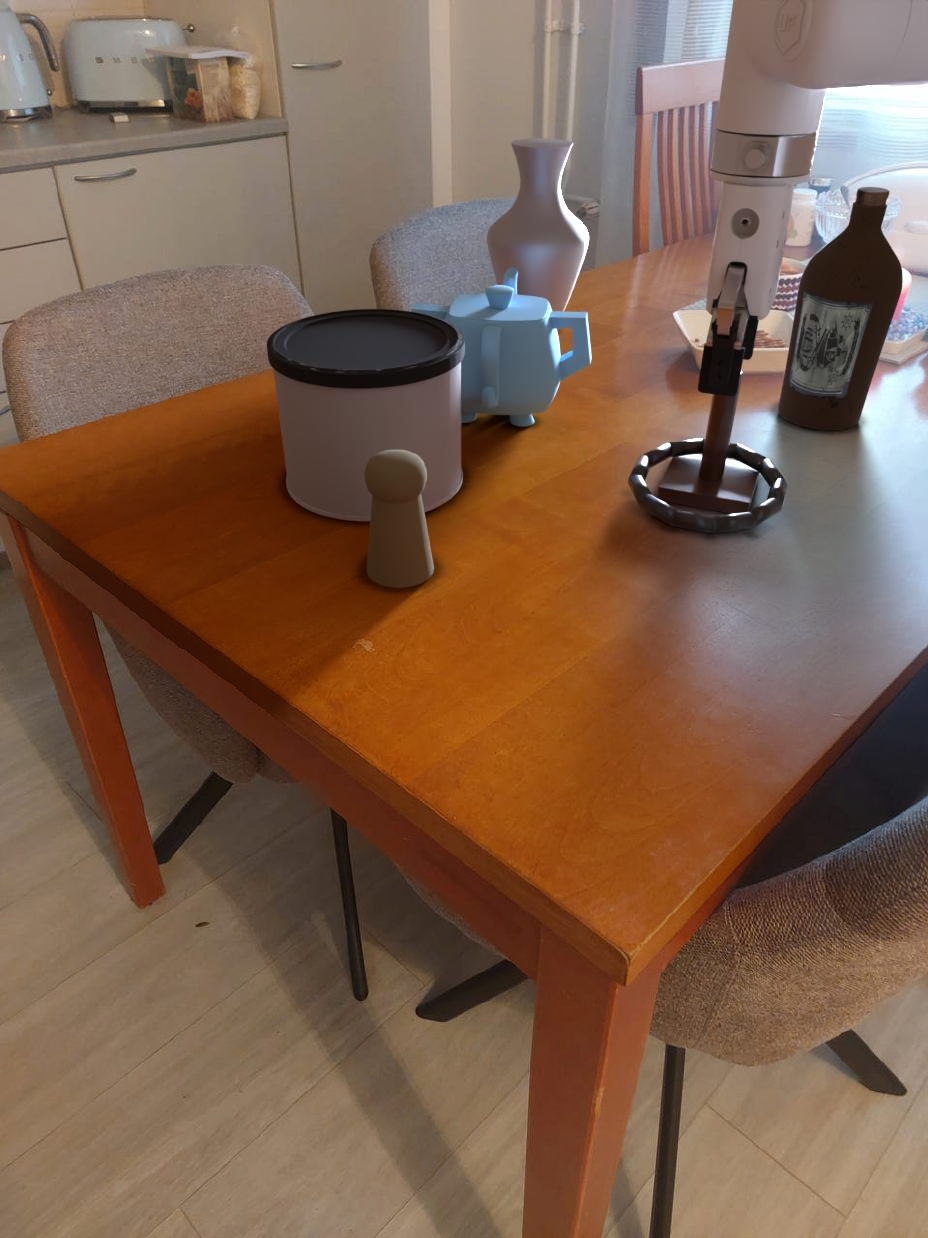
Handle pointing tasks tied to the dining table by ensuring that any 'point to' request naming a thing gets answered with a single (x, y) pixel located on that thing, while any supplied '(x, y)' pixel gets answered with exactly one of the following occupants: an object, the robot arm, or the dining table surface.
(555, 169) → the vase
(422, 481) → the wooden peg doll
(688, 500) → the peg
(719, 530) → the ring
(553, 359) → the teapot
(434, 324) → the container
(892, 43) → the robot arm
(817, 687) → the dining table surface
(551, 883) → the dining table surface
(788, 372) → the olive oil
